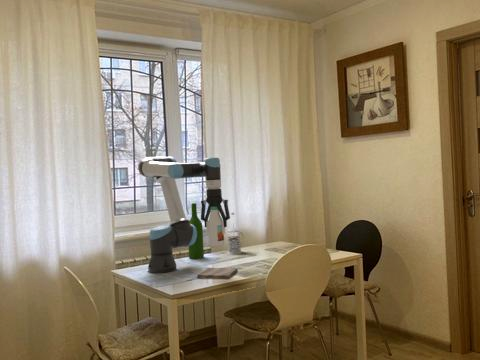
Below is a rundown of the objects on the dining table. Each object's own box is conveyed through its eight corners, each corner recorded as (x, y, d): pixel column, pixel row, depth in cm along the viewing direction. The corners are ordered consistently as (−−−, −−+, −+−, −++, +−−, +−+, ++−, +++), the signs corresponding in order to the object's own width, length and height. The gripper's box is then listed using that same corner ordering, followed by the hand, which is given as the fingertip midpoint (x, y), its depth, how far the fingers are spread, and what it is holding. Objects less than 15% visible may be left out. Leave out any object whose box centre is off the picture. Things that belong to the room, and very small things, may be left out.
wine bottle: (205, 255, 296) (202, 202, 295) (201, 258, 287) (199, 204, 286) (191, 256, 297) (188, 203, 296) (187, 259, 289) (184, 204, 287)
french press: (224, 252, 305) (222, 212, 304) (240, 250, 310) (239, 211, 309) (230, 254, 296) (228, 213, 295) (247, 252, 301) (245, 212, 300)
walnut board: (197, 278, 240) (197, 275, 240) (208, 270, 255) (208, 267, 255) (228, 278, 235) (228, 275, 235) (237, 271, 251) (237, 268, 251)
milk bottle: (212, 247, 239) (210, 207, 239) (206, 245, 246) (204, 206, 245) (226, 245, 243) (225, 206, 242) (220, 244, 250) (218, 205, 249)
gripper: (192, 189, 243) (194, 235, 243) (231, 188, 237) (233, 234, 238) (197, 188, 250) (199, 232, 251) (235, 187, 244) (237, 232, 245)
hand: (216, 233), depth 244 cm, fingers closed on milk bottle, 7 cm apart
